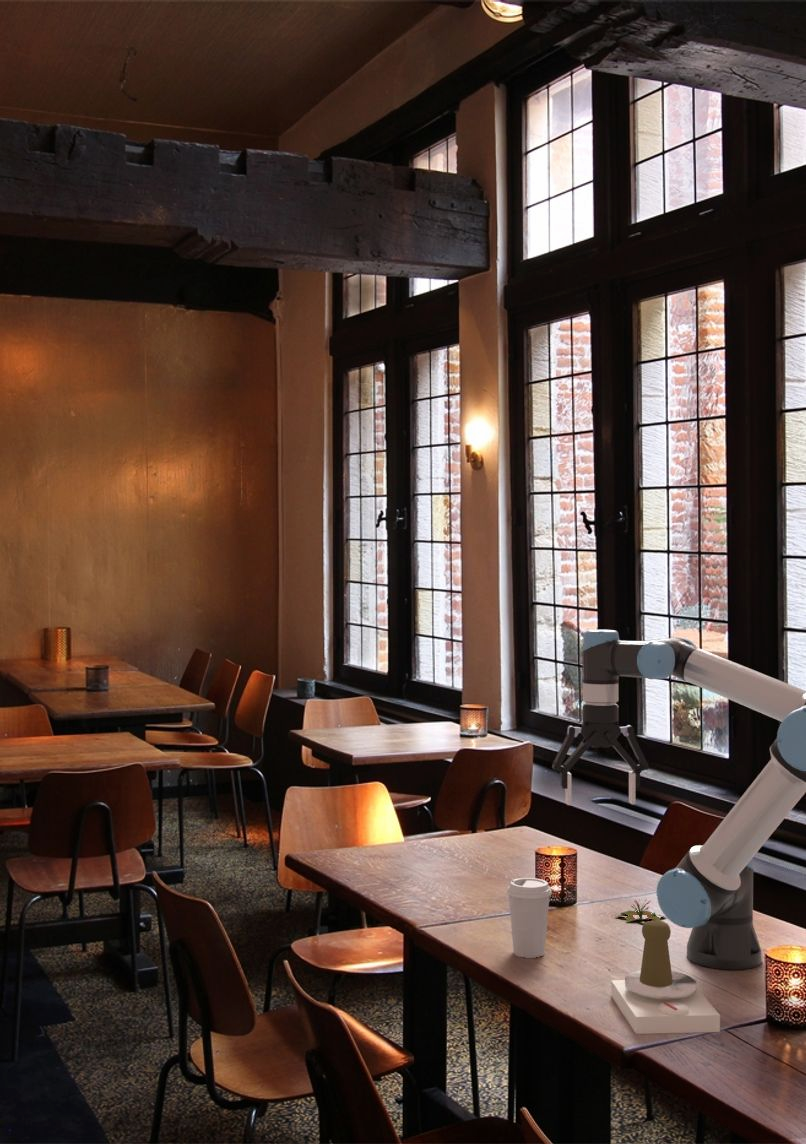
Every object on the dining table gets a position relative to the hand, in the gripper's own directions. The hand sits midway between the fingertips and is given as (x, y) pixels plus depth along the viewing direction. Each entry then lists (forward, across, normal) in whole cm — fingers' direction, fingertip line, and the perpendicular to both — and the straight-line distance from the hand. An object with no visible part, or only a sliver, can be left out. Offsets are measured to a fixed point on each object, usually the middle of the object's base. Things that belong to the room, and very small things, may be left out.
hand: (600, 803), depth 262 cm
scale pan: (+28, -4, +33) cm, 43 cm away
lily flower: (+32, -15, -25) cm, 44 cm away
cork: (+27, -3, +33) cm, 43 cm away
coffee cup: (+32, +15, -1) cm, 35 cm away
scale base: (+32, -4, +35) cm, 47 cm away
